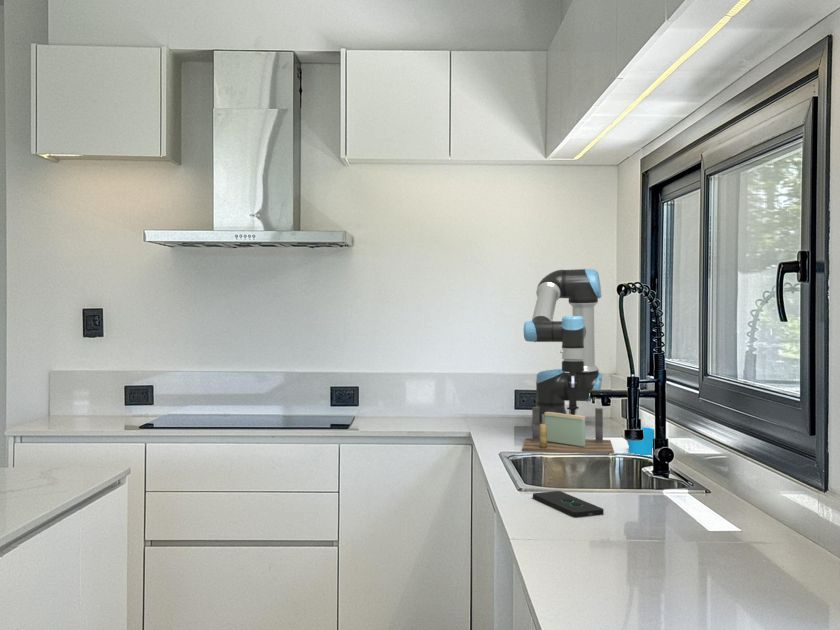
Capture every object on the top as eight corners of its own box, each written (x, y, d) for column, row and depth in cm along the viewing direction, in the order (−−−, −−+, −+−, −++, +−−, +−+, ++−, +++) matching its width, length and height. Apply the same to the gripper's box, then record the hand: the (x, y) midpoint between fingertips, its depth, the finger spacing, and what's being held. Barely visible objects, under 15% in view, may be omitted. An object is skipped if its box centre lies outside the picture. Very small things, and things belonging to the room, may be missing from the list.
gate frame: (525, 440, 275) (525, 404, 275) (610, 442, 269) (610, 406, 269) (522, 451, 252) (521, 412, 252) (614, 454, 246) (613, 414, 247)
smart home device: (574, 511, 169) (531, 492, 187) (574, 519, 169) (531, 499, 187) (605, 508, 172) (560, 490, 190) (605, 516, 172) (560, 496, 190)
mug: (659, 455, 245) (659, 430, 245) (638, 456, 242) (638, 431, 242) (637, 449, 256) (637, 425, 256) (617, 450, 254) (617, 426, 254)
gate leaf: (544, 439, 268) (544, 411, 268) (585, 445, 254) (585, 416, 254) (540, 440, 266) (540, 411, 266) (582, 446, 253) (581, 416, 253)
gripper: (562, 358, 268) (562, 424, 268) (561, 361, 255) (561, 430, 256) (583, 359, 266) (583, 425, 267) (584, 361, 254) (584, 431, 254)
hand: (572, 427), depth 261 cm, fingers closed
